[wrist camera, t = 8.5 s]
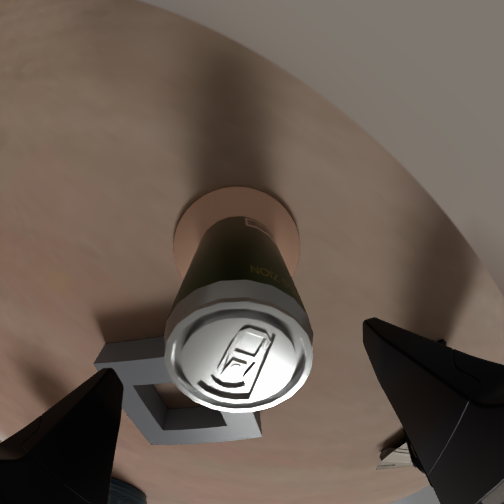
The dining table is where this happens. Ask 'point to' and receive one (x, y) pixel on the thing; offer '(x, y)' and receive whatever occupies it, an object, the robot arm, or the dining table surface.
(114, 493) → the canister
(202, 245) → the beer can
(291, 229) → the coaster
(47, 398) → the dining table surface
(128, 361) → the square frame
